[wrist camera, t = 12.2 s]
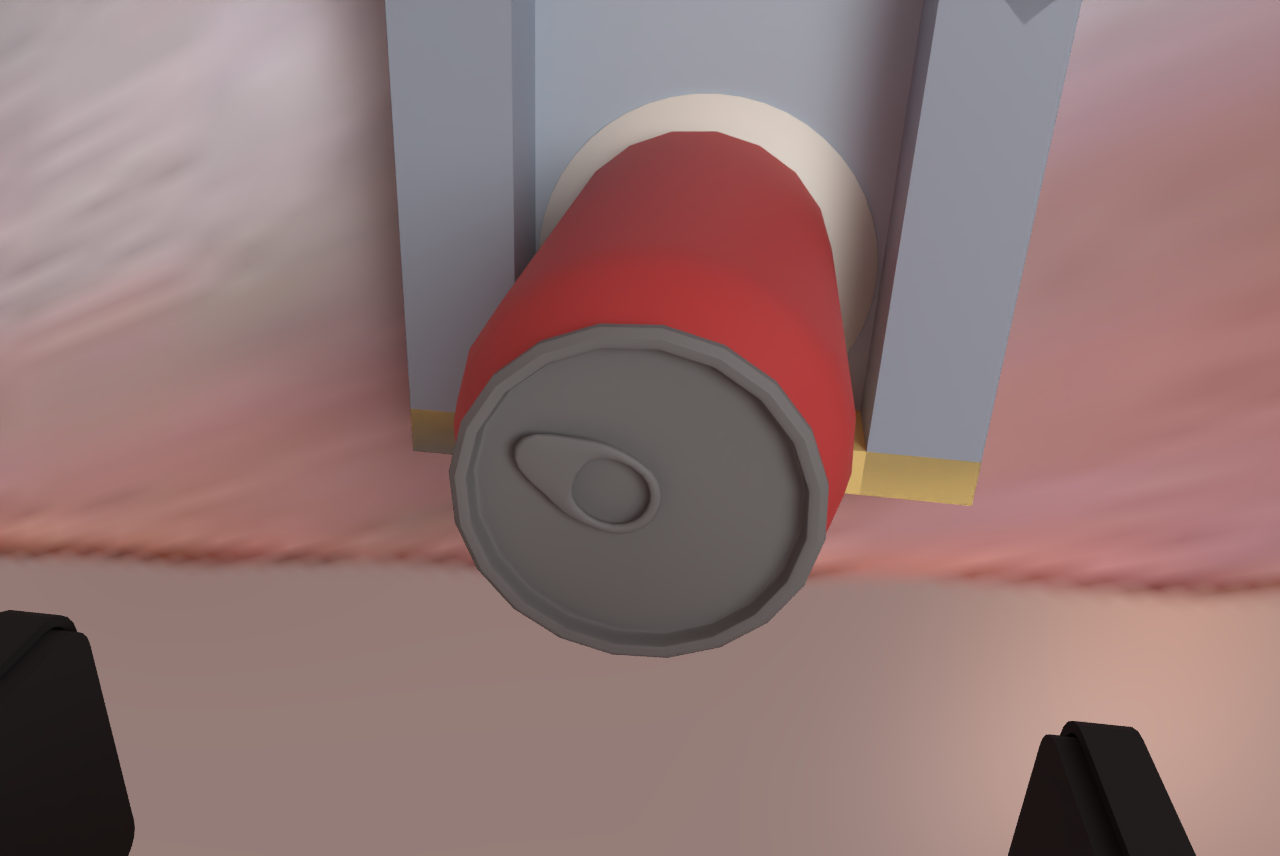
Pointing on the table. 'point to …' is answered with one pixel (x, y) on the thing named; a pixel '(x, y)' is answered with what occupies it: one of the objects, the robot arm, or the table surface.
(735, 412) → the beer can
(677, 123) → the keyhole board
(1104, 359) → the table surface
